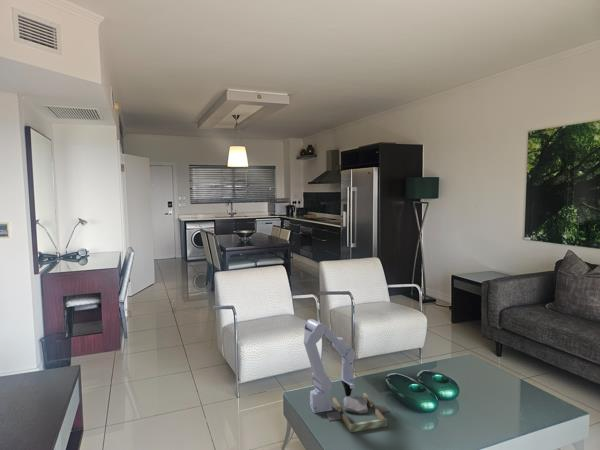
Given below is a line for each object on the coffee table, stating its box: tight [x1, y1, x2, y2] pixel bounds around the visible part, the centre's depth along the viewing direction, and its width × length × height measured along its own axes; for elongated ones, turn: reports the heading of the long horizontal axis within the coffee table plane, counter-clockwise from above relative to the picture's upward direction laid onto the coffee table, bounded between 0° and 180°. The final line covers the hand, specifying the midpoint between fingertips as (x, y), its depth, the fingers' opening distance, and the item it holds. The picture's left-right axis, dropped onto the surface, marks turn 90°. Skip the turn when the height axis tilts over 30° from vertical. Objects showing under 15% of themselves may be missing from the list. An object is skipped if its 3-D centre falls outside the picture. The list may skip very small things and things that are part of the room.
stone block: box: [342, 396, 369, 415], centre depth 191 cm, size 12×5×10 cm
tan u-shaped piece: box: [332, 392, 388, 433], centre depth 186 cm, size 17×25×3 cm
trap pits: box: [325, 404, 391, 422], centre depth 187 cm, size 30×6×1 cm, turn 103°
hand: (348, 395), depth 201 cm, fingers closed
